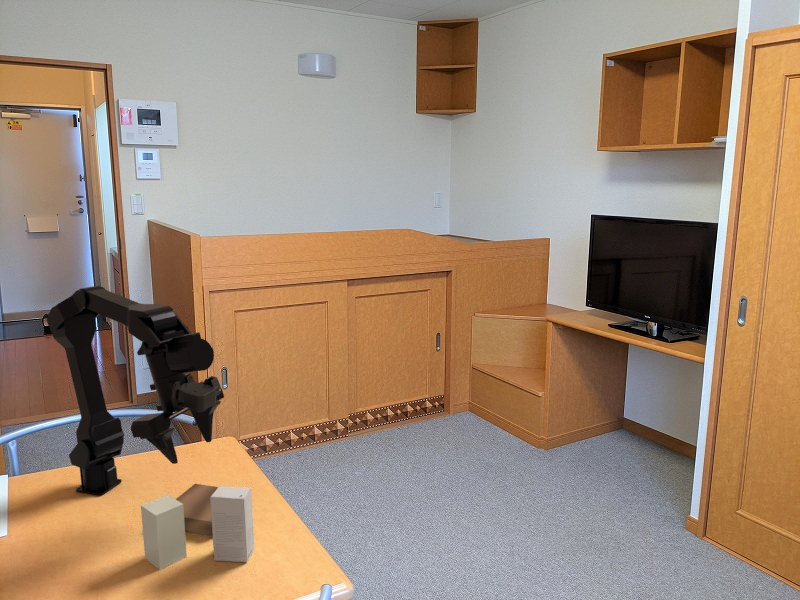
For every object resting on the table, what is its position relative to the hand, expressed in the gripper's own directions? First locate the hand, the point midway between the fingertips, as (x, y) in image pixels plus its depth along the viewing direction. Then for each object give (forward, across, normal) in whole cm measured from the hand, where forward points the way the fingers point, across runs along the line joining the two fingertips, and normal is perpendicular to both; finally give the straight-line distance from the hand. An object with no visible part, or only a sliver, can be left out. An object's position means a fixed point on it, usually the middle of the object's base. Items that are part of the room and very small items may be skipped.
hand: (192, 452), depth 124 cm
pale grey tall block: (+14, -13, -1) cm, 19 cm away
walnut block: (+14, +1, +3) cm, 14 cm away
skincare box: (+17, -8, -11) cm, 21 cm away
